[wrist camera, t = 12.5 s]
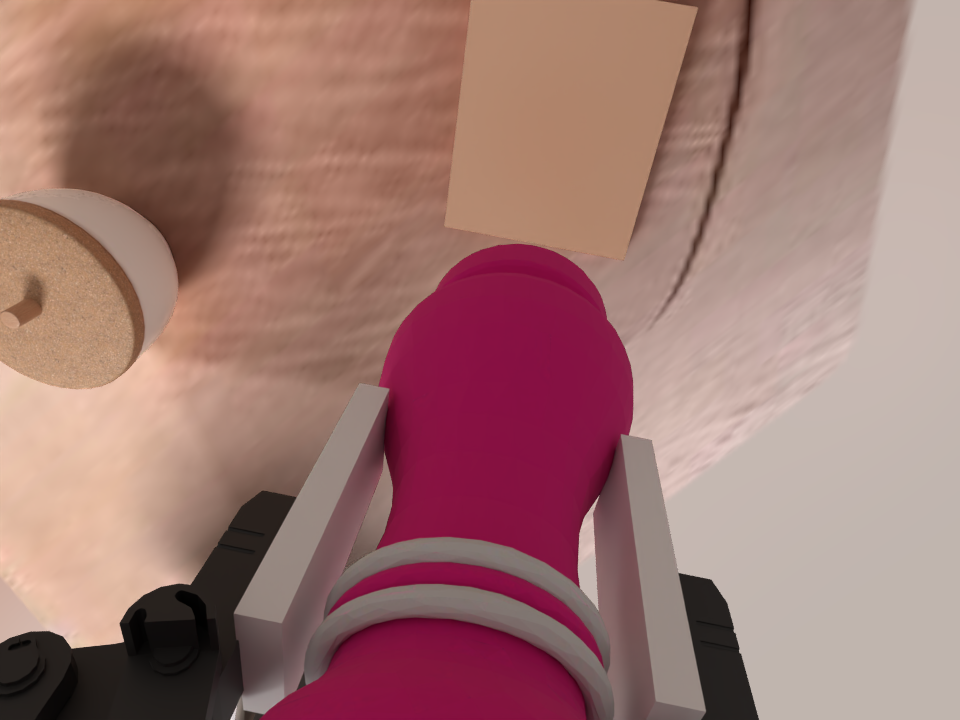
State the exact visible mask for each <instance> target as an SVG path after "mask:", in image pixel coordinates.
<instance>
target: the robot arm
mask: <svg viewBox="0 0 960 720" xmlns="http://www.w3.org/2000/svg"><path fill="white" fill-rule="evenodd" d="M388 401H389V389H388V388H383V387H378V386H373V385H368V384H363V383H359V385H358V387H357V388H356V390H355V392H354V394H353V396H352V398H351V399H350V401H349V403H348V405H347V407H346V408H345V410H344V412H343V414H342V416H341V418H340V419H339V421H338V423H337V425H336V427H335V429H334V430H333V432H332V434H331V436H330V438H329V440H328V441H327V443H326V445H325V447H324V449H323V451H322V452H321V454H320V456H319V458H318V460H317V462H316V463H315V465H314V467H313V469H312V471H311V473H310V474H309V476H308V478H307V480H306V482H305V483H304V485H303V487H302V489H301V491H300V493H299V494H298V496H297V497H292V496H287V495H282V494H277V493H272V492H267V491H262V492H260V493H259V494H258V495H256V496H255V497H254V498H252V499H251V500H250V501H248V502H247V503H246V504H244V505H243V506H242V507H241V508H240V510H239V511H238V513H237V515H236V516H235V518H234V519H233V521H232V522H231V524H230V525H229V528H228V531H226V532H225V533H224V535H223V536H222V538H221V539H220V541H219V542H218V546H217V548H216V547H215V549H214V550H213V552H212V553H211V555H210V556H209V558H208V559H207V561H206V562H205V564H204V566H203V567H202V569H201V570H200V572H199V573H198V575H197V576H196V578H195V579H194V581H193V582H192V584H191V585H187V584H175V585H169V586H164V587H160V588H158V589H156V590H154V591H152V592H150V593H148V594H146V595H143V596H142V597H141V598H140V599H139V600H138V601H137V602H135V603H134V604H133V605H132V606H131V607H130V608H129V609H128V610H127V612H126V614H125V615H124V617H123V619H122V620H121V622H120V627H121V631H122V635H123V638H124V642H122V643H117V644H111V645H102V646H92V647H83V648H74V649H71V647H70V646H69V644H68V643H67V642H66V640H65V639H64V637H63V636H60V635H57V634H55V633H52V632H50V631H42V632H28V633H25V634H21V635H18V636H15V637H12V638H9V639H7V640H6V641H4V642H2V643H0V720H230V719H231V717H232V714H233V712H234V710H235V708H236V706H237V709H236V716H235V720H259V719H260V718H261V717H262V716H263V715H264V714H265V713H266V712H267V711H268V710H269V709H271V708H272V707H273V706H274V705H276V704H277V703H278V702H280V701H281V700H282V699H284V698H285V697H286V696H288V695H289V694H291V693H293V692H295V691H297V690H298V689H300V688H302V687H304V686H306V682H305V674H304V660H305V653H306V650H307V647H308V644H309V641H310V639H311V637H312V636H313V634H314V633H315V631H316V630H317V628H318V627H319V626H320V624H321V623H322V622H323V618H324V609H325V605H326V601H327V597H328V595H329V593H330V591H331V590H332V588H333V586H334V585H335V583H336V582H337V580H338V579H339V577H340V576H341V575H342V573H343V570H344V568H345V565H346V563H347V560H348V558H349V555H350V553H351V550H352V548H353V545H354V542H355V540H356V537H357V535H358V532H359V530H360V527H361V525H362V522H363V519H364V517H365V514H366V512H367V509H368V507H369V504H370V502H371V499H372V497H373V494H374V491H375V489H376V486H377V484H378V481H379V479H380V476H381V474H382V470H383V459H384V435H385V425H386V416H387V411H388ZM593 518H594V536H595V554H596V571H597V590H598V607H599V613H600V615H601V617H602V619H603V622H604V624H605V627H606V629H607V632H608V635H609V639H610V667H609V670H608V673H607V676H608V679H609V681H610V684H611V686H612V691H613V697H614V717H613V720H759V718H758V715H757V711H756V707H755V704H754V700H753V696H752V693H751V689H750V686H749V682H748V678H747V674H746V671H745V667H744V663H743V660H742V656H741V654H740V653H739V645H738V641H737V638H736V634H735V633H734V632H733V630H734V626H733V623H732V619H731V616H730V612H729V609H728V604H727V602H726V601H725V599H724V598H723V597H722V595H721V594H720V592H719V590H718V589H717V587H716V586H715V585H714V583H713V582H712V580H710V579H705V578H700V577H695V576H690V575H686V574H681V573H678V569H677V564H676V559H675V554H674V549H673V544H672V539H671V534H670V529H669V524H668V519H667V514H666V509H665V504H664V499H663V494H662V489H661V484H660V479H659V474H658V469H657V464H656V459H655V454H654V449H653V444H652V440H648V439H643V438H638V437H633V436H628V435H623V434H621V435H620V438H619V441H618V444H617V447H616V450H615V454H614V459H613V463H612V467H611V470H610V473H609V476H608V479H607V481H606V483H605V485H604V487H603V489H602V491H601V493H600V496H599V499H598V501H597V504H596V507H595V510H594V513H593Z"/></svg>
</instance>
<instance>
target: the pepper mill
mask: <svg viewBox="0 0 960 720" xmlns="http://www.w3.org/2000/svg"><path fill="white" fill-rule="evenodd" d="M379 387H383V388H388V389H389V401H388V411H387V416H386V425H385V435H384V451H385V455H386V459H387V463H388V467H389V471H390V476H391V480H392V484H393V499H392V508H391V512H390V515H389V519H388V522H387V526H386V529H385V533H384V535H383V537H382V539H381V541H380V543H379V545H378V547H377V549H376V550H375V551H373V552H371V553H369V554H368V555H366V556H364V557H362V558H361V559H359V560H358V561H357V562H355V563H354V564H353V565H351V566H350V567H349V568H347V569H346V570H345V571H344V573H343V574H342V575H341V576H340V577H339V579H338V580H337V582H336V583H335V585H334V586H333V588H332V590H331V591H330V593H329V595H328V597H327V601H326V605H325V609H324V618H323V622H322V623H321V624H320V626H319V627H318V628H317V630H316V631H315V633H314V634H313V636H312V637H311V639H310V641H309V644H308V647H307V650H306V653H305V660H304V674H305V682H306V686H304V687H302V688H300V689H298V690H297V691H295V692H293V693H291V694H289V695H288V696H286V697H285V698H284V699H282V700H281V701H280V702H278V703H277V704H276V705H274V706H273V707H272V708H271V709H269V710H268V711H267V712H266V713H265V714H264V715H263V716H262V717H261V718H260V719H259V720H613V717H614V697H613V691H612V686H611V684H610V681H609V679H608V676H607V673H608V670H609V667H610V639H609V635H608V632H607V629H606V627H605V624H604V622H603V619H602V617H601V615H600V613H599V612H598V610H597V608H596V607H595V605H594V604H593V603H592V602H591V600H590V599H589V598H588V597H587V596H586V595H585V594H584V592H583V591H582V590H581V589H580V586H579V578H578V548H579V532H580V529H581V526H582V522H583V519H584V517H585V515H586V514H587V512H588V511H589V509H590V508H591V506H592V505H593V504H594V502H595V501H596V499H597V498H598V496H599V495H600V493H601V491H602V489H603V487H604V485H605V483H606V481H607V479H608V476H609V473H610V470H611V467H612V463H613V459H614V454H615V450H616V447H617V444H618V441H619V438H620V435H621V434H623V435H628V436H629V432H630V428H631V424H632V419H633V378H632V372H631V365H630V362H629V359H628V356H627V353H626V351H625V348H624V346H623V344H622V342H621V340H620V338H619V336H618V334H617V332H616V330H615V329H614V328H613V326H612V325H611V324H610V323H609V321H608V320H607V316H606V311H605V307H604V304H603V301H602V298H601V296H600V294H599V292H598V290H597V288H596V287H595V285H594V284H593V283H592V281H591V280H590V279H589V278H588V276H587V275H586V274H585V273H584V271H583V270H581V269H580V268H579V267H578V266H577V265H575V264H574V263H573V262H571V261H570V260H569V259H567V258H565V257H563V256H561V255H559V254H558V253H556V252H553V251H551V250H548V249H545V248H541V247H537V246H533V245H524V244H508V245H498V246H494V247H490V248H486V249H483V250H480V251H478V252H475V253H473V254H471V255H469V256H468V257H466V258H464V259H463V260H461V261H460V262H459V263H458V264H456V265H455V266H454V267H453V268H452V269H451V270H450V271H449V272H448V273H447V274H446V275H445V276H444V278H443V279H442V280H441V282H440V284H439V285H438V287H437V289H436V291H435V292H434V293H432V294H431V295H430V296H428V297H427V298H426V299H424V300H423V301H422V302H421V303H419V304H418V305H417V306H416V307H415V308H414V310H413V311H412V312H411V313H410V314H409V315H408V316H407V317H406V319H405V320H404V321H403V322H402V324H401V325H400V327H399V329H398V330H397V332H396V334H395V335H394V338H393V340H392V343H391V346H390V349H389V351H388V354H387V357H386V360H385V363H384V367H383V371H382V375H381V379H380V383H379Z"/></svg>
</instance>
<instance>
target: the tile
mask: <svg viewBox="0 0 960 720" xmlns="http://www.w3.org/2000/svg"><path fill="white" fill-rule="evenodd" d="M697 10H698V7H693V6H687V5H682V4H676V3H670V2H664V1H658V0H471V4H470V13H469V21H468V30H467V38H466V47H465V55H464V63H463V72H462V80H461V89H460V97H459V106H458V114H457V122H456V131H455V139H454V148H453V156H452V164H451V173H450V181H449V190H448V198H447V207H446V215H445V223H444V227H448V228H454V229H459V230H464V231H470V232H475V233H480V234H485V235H491V236H496V237H501V238H507V239H512V240H517V241H523V242H528V243H533V244H538V245H544V246H549V247H554V248H560V249H565V250H570V251H575V252H581V253H586V254H591V255H597V256H602V257H607V258H613V259H618V260H623V261H624V259H625V255H626V252H627V249H628V245H629V242H630V238H631V235H632V232H633V228H634V225H635V221H636V218H637V214H638V211H639V208H640V204H641V201H642V197H643V194H644V191H645V187H646V184H647V180H648V177H649V174H650V170H651V167H652V163H653V160H654V157H655V153H656V150H657V146H658V143H659V140H660V136H661V133H662V129H663V126H664V123H665V119H666V116H667V112H668V109H669V106H670V102H671V99H672V95H673V92H674V89H675V85H676V82H677V78H678V75H679V72H680V68H681V65H682V61H683V58H684V55H685V51H686V48H687V44H688V41H689V38H690V34H691V31H692V27H693V24H694V21H695V17H696V14H697Z"/></svg>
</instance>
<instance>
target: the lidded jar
mask: <svg viewBox="0 0 960 720" xmlns="http://www.w3.org/2000/svg"><path fill="white" fill-rule="evenodd" d="M177 298H178V274H177V269H176V265H175V262H174V259H173V256H172V252H171V250H170V247H169V245H168V243H167V242H166V240H165V238H164V237H163V235H162V234H161V233H160V231H159V230H158V229H157V228H156V227H155V226H154V225H153V224H152V223H151V222H150V221H149V220H147V219H146V218H145V217H143V216H142V215H140V214H139V213H137V212H136V211H134V210H133V209H132V208H130V207H129V206H127V205H125V204H123V203H121V202H119V201H117V200H115V199H112V198H110V197H107V196H104V195H102V194H99V193H95V192H91V191H86V190H80V189H70V188H52V189H41V190H34V191H28V192H22V193H18V194H15V195H12V196H8V197H5V198H2V199H0V361H1V362H3V363H4V364H6V365H7V366H9V367H11V368H12V369H14V370H16V371H17V372H19V373H21V374H23V375H25V376H27V377H30V378H32V379H34V380H37V381H40V382H42V383H45V384H48V385H52V386H57V387H61V388H70V389H90V388H95V387H100V386H103V385H106V384H108V383H110V382H112V381H114V380H115V379H117V378H118V377H119V376H121V375H122V374H123V373H125V372H126V371H127V370H128V369H129V368H130V367H131V366H132V364H133V363H134V362H135V361H136V360H137V359H138V358H139V357H140V356H141V355H142V354H143V353H145V352H146V351H147V350H148V349H149V348H150V347H151V345H152V344H153V343H154V342H155V341H156V340H157V338H158V337H159V336H160V335H161V334H162V332H163V331H164V329H165V328H166V326H167V324H168V323H169V321H170V319H171V317H172V315H173V312H174V309H175V305H176V302H177Z"/></svg>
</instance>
